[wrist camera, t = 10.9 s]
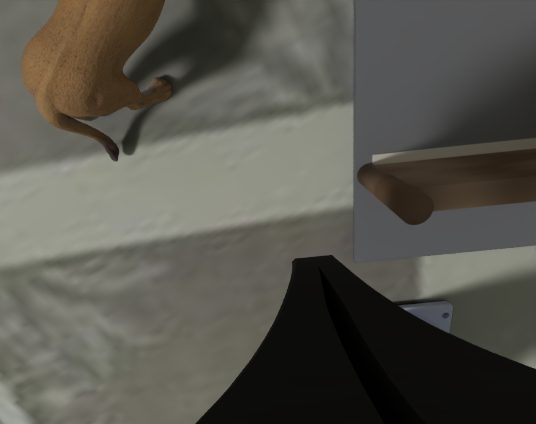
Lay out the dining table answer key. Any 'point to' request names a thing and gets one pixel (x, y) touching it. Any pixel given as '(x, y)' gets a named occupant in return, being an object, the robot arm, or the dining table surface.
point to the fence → (452, 183)
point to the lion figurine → (90, 63)
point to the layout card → (441, 113)
